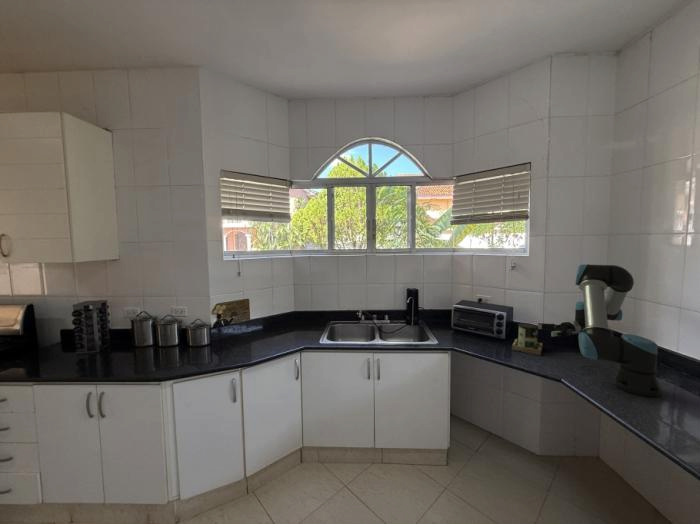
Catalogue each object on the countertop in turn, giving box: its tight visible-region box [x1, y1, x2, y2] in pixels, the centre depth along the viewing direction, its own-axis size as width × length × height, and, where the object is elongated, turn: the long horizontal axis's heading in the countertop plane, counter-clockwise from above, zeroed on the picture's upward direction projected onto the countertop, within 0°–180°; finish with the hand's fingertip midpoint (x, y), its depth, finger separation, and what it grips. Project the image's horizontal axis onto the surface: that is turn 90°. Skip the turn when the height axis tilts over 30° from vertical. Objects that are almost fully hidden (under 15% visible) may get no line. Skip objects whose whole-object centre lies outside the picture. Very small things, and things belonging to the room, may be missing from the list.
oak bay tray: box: [511, 338, 543, 356], centre depth 182 cm, size 14×14×3 cm
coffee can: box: [517, 322, 539, 349], centre depth 181 cm, size 10×10×14 cm
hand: (541, 330), depth 183 cm, fingers open, 13 cm apart
